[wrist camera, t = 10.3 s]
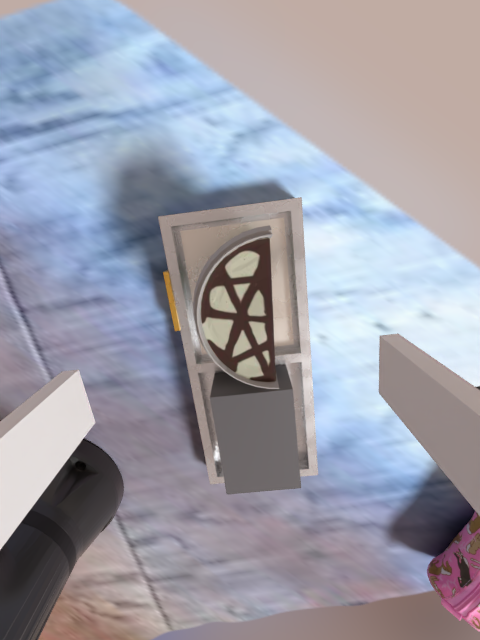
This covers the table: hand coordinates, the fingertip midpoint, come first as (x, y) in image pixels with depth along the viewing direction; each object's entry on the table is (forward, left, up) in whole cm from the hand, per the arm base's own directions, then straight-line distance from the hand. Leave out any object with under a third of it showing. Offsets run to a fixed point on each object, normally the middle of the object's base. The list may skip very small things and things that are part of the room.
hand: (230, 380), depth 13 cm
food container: (0, 0, -19) cm, 19 cm away
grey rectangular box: (0, -15, -19) cm, 24 cm away
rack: (0, -7, -20) cm, 21 cm away
